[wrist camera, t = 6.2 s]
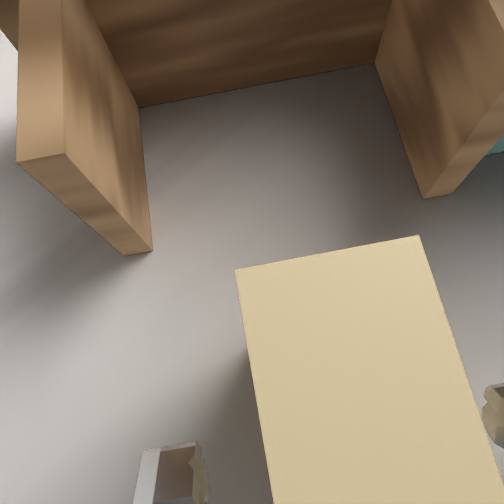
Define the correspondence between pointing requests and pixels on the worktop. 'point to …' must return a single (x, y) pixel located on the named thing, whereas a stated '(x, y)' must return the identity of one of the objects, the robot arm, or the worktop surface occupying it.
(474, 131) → the pantry shelf
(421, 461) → the book box
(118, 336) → the worktop surface
